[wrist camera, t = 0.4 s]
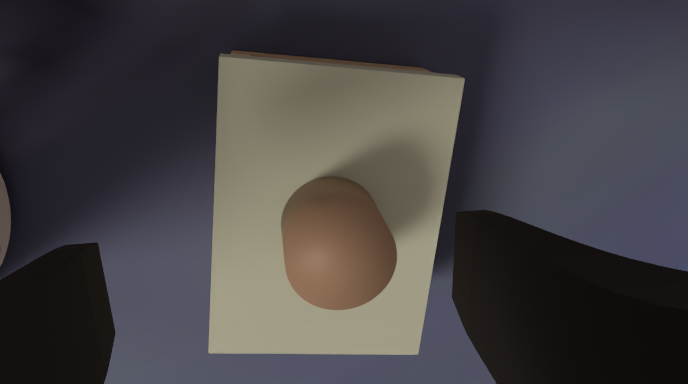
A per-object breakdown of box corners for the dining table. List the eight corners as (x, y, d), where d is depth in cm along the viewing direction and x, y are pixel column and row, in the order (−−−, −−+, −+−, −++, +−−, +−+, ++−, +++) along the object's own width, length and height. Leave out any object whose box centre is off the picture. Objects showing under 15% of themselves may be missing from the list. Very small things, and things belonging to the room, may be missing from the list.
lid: (408, 333, 21) (440, 405, 17) (211, 330, 20) (201, 407, 16) (451, 72, 18) (500, 94, 14) (221, 51, 17) (211, 69, 13)
